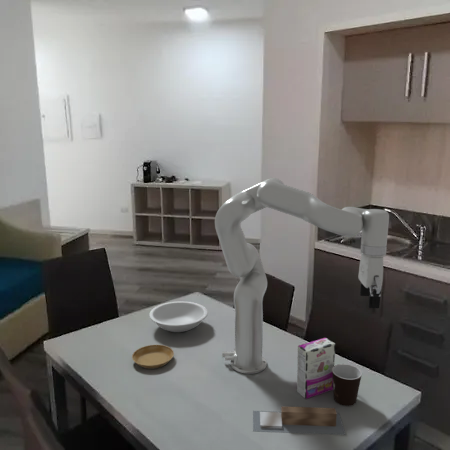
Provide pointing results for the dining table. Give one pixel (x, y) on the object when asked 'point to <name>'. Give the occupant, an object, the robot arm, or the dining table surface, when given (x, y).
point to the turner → (298, 417)
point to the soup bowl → (178, 315)
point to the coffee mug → (346, 383)
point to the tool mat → (299, 427)
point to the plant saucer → (153, 356)
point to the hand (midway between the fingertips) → (369, 301)
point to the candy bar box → (315, 367)
